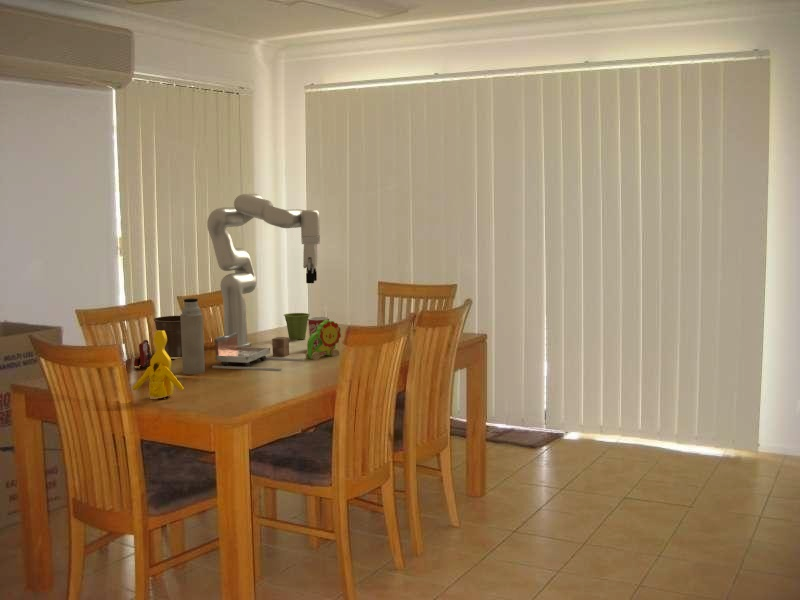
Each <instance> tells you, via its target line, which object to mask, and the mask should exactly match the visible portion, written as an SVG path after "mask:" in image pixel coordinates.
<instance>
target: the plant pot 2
mask: <svg viewBox="0 0 800 600" xmlns="http://www.w3.org/2000/svg"><path fill="white" fill-rule="evenodd" d="M310 315H311V314H310V313H308V312H307V313H306V312H293V313H285V314H283V316H284V319H285V321H286V323H285V324H286V327H287V329H286V330H287V333H288V337H289V340H290V341H291V340H292V341H298V340H302V339H303V340H305V339H306V336H307V329H308V323H309V321H308V318H310Z"/></svg>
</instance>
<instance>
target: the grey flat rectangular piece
mask: <svg viewBox="0 0 800 600" xmlns="http://www.w3.org/2000/svg"><path fill="white" fill-rule="evenodd" d="M257 360H260V359H259V358H258V359H257ZM265 360H268V361H269V360H270V361H271V360H272V361H295V362H296V361H297V362H298V361H299V362H303V361H304V359H303V358H295V357H274V356H272V357H266V359H265ZM211 366H212V367H211V368H212V369H231V370H250V371H251V370H253V371H276V372H281V371H282V368H279V367H278V368H277V367H257V366H256V367H255V366H249V367H244V366H232V365H227V366H222V365H211Z"/></svg>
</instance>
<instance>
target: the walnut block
mask: <svg viewBox="0 0 800 600" xmlns="http://www.w3.org/2000/svg"><path fill="white" fill-rule="evenodd" d="M271 341H272V342H271V343H272V345H271V346H272V357H274V358H286V357H287V356H289V355H290V339H289V336H287V337H286V336H276V337H274V338H272V339H271Z"/></svg>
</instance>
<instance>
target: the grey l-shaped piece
mask: <svg viewBox="0 0 800 600" xmlns="http://www.w3.org/2000/svg"><path fill="white" fill-rule="evenodd" d="M223 336H224V335H223ZM237 336H238V334H237V333H233V334H230V335H227V336H224V337H221V338H218V339H217V338H215V339H214V343H215V344H214V346H215V347H214V348H215V349H214V350H215V362H221V366H229V363H242V364H243V365H242V367H251V366H250V365H251V363H250V362H253V361H256V360H260V361H262V362H263V361H265V360H267V359H266V356H268V355H270V354H271V347H261V346H260V347H259V346H257V347H256V346H248V347H239V348H238V340H237ZM258 358H259V359H258Z"/></svg>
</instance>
